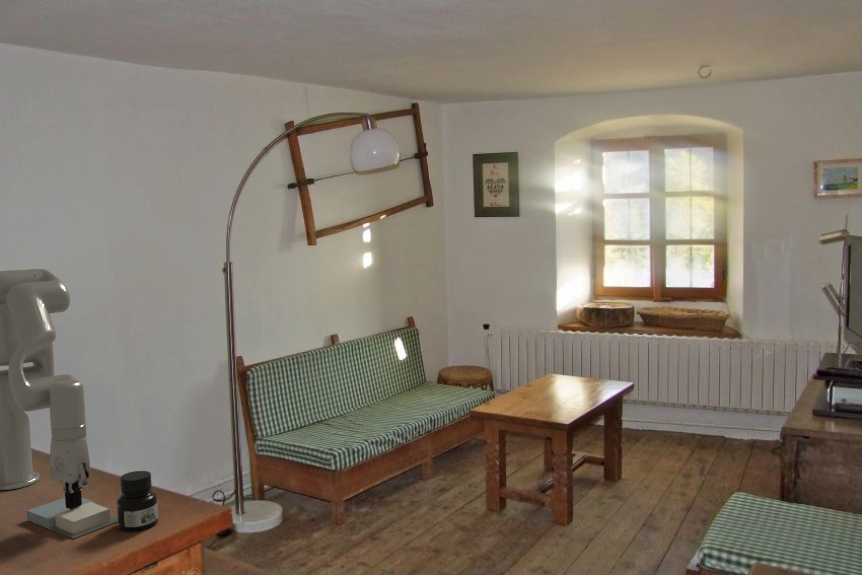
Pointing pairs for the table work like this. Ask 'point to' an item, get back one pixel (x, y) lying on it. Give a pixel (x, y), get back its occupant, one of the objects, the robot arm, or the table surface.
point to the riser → (49, 512)
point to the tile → (82, 517)
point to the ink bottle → (136, 502)
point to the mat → (74, 536)
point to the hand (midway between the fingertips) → (73, 506)
